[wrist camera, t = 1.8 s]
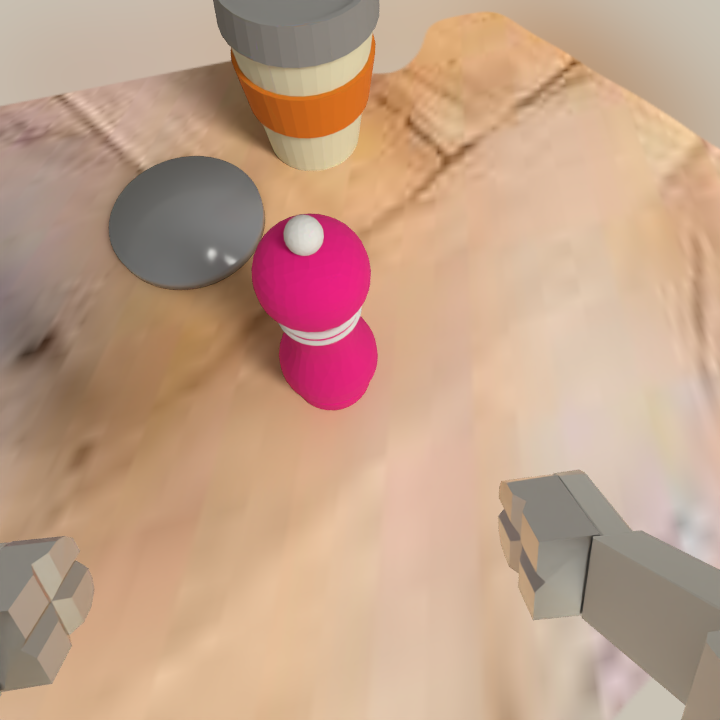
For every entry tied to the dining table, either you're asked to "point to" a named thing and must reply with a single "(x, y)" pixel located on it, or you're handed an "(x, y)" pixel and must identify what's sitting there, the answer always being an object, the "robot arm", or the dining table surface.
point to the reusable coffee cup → (304, 72)
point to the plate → (187, 222)
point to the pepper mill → (318, 307)
